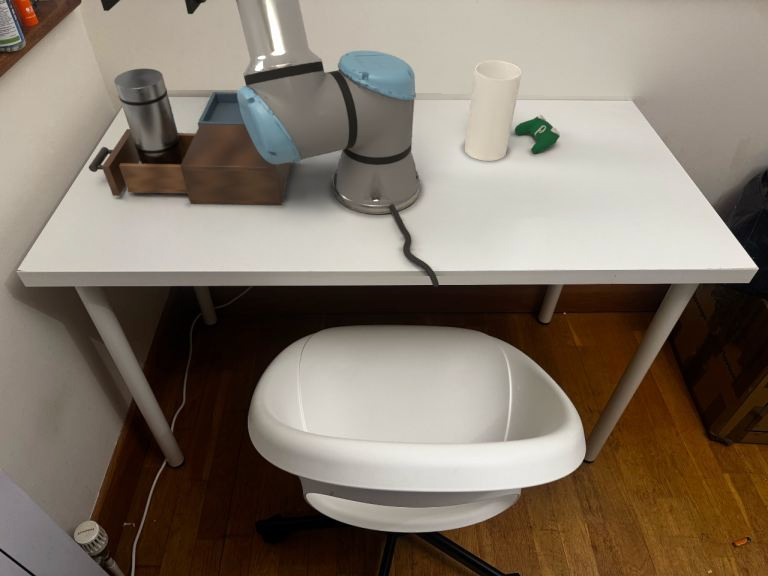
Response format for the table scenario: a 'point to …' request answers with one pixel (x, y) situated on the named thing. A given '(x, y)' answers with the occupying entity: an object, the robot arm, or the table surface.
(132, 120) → the steel travel flask
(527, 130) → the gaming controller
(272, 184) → the cabinet
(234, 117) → the tray
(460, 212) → the table surface
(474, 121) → the cup
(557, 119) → the table surface
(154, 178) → the drawer
